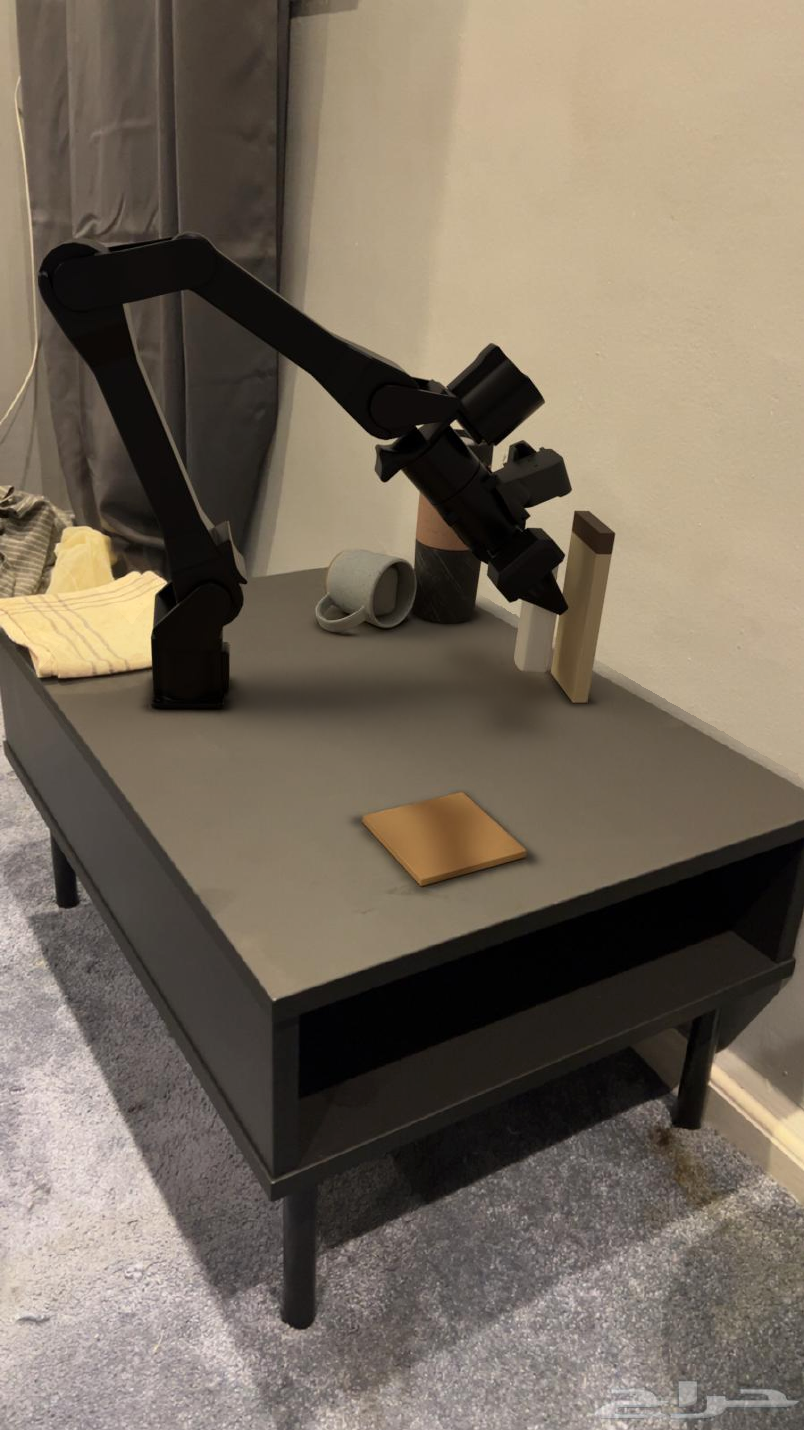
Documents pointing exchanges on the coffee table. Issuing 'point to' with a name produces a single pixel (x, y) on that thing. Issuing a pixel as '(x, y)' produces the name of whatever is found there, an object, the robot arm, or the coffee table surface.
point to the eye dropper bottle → (535, 637)
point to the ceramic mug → (367, 590)
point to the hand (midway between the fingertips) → (554, 600)
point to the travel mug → (445, 560)
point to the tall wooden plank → (582, 604)
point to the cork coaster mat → (443, 838)
